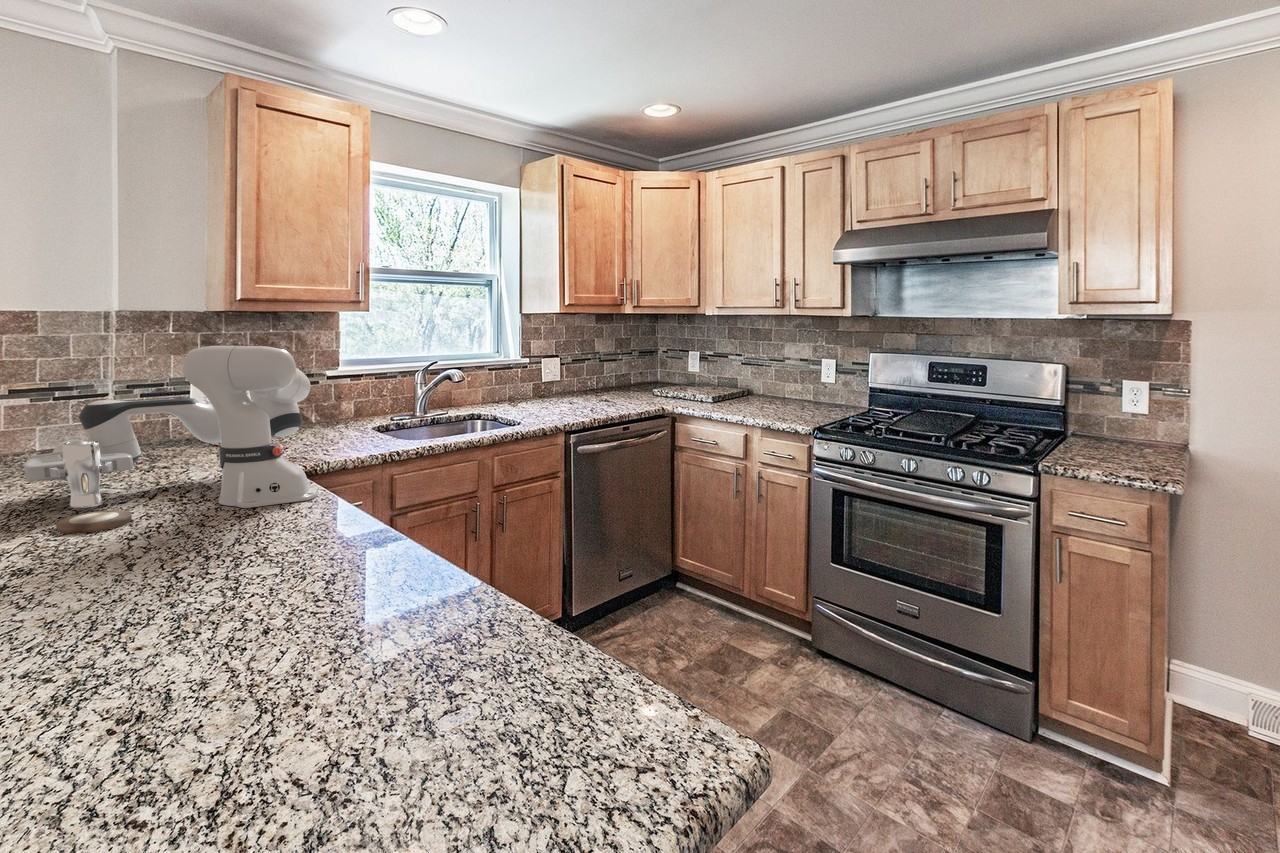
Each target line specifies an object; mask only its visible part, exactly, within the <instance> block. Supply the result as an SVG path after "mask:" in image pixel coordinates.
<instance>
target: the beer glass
mask: <svg viewBox="0 0 1280 853" xmlns="http://www.w3.org/2000/svg"><path fill="white" fill-rule="evenodd" d="M62 445H63V466H64V470H65V474H66V477H67V480H66V481H67V482H68V485H69V490H70V500H69V508H71V509H84V508H85V509H86V508H94V507H98V506H101V505H103V502H104V500H103V499H102V495H101V492H100V484H101V482H100V480H101V474H102V473H101V453H100V448H99V442H98V441H89V440H82V441H74V442H67V443H63V444H62Z"/></svg>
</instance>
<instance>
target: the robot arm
mask: <svg viewBox="0 0 1280 853" xmlns="http://www.w3.org/2000/svg"><path fill="white" fill-rule="evenodd" d="M182 371H183V372H182V373H183V374H184V376H185V378H186V380H187V381H188V383H189V384H190V385H191V386H193V387H195V388H196V389H198V390H199V391H200V392H201V393H202V394H203V395H204V396H205V397H206V398H207V399H208V401H209V403H210V404H208V403H202V402H199V401H198V400H197V399H196V398H193V397H161V398H148V399H147V398H146V399H145V398H144V399H143V398H142V399H130V400H129V399H127V400H116V399H115V400H114V399H104V400H103V399H102V400H96V401H92V402H90V403H87V404H85V405H84V407H83V408H82V410H81V411H80V412H79V415H78V419H79V422H80V423H81V425H82V427H83V430H85V434H86V436H87V438H88V439H87V440H88V441H98V442H99V448H100V453H101V474H102V475H103V474H109V473H110V474H111V473H114V472H115V473H116V472H123V471H130V470H133V469H134V464H135V463H136V462H137V461H138V460H139V458H141V455H142V451H141V448H140V445H139V442H138V438H137V437H136V434H135V431H134V428H133V425H132V422H131V417H132V416H143V415H153V414H155V415H156V414H169V415H172V416H174V417H176V418H177V420H179V421H180V422H181V423H182V425H183V426H184V427H185V428H186V429H187V430H188V431H189V432H190V433H191V435H193V436H194V437H195V438H196V439H198V440H200V441H202V442H205V443H207V444H215V443H216V444H218V443H220V444H221V445H220V447H219V450H218V456H219V465H220V468H221V485H220V493H219V498H218V500H217V503H218V504H220V505H222V506H230V507H238V508H241V509H248V508H250V509H251V508H256V507H257V508H258V507H265V506H272V505H279V504H287V503H289V504H290V503H296V502H303V501H305V502H306V501H309V500H310V501H311V500H312V499H314V498H315V497H317V496H318V494H319V492H318V490H319V489H318V488H317V487H316V486H315V485H311V484H309V481H308V478H307V474H306V473H305V471H304V470H303V468H301V467H300V466H298V465H296V464H294V463H293V462H291V461H289V460H288V459H286V458H285V457H282V451H283V449H282V447H281V445H280V444H279V443H278V444H276V443H274V442H272V437H273V438H284V437H288V436H291V435H293V434H295V433H297V432H298V431H300V429H301V428H302V427H303V424H304V421H303V415H302V414H301V412H300V409H299V405H298V403H299V402H302V401H304V400H305V399H307V397H308V396H309V394H310V391H311V389H312V388H311V387H312V386H311V382H310V379H309V377H308V376H307V375H306V374H305V373H304V372H303V371H301V370H300V369H298V368H297V365H296V360H295V359H294V357H293V356H292V354H291V353H290V352H289V351H287V350H286V349H282V348H278V347H272V346H267V345H266V346H265V345H264V346H263V345H208V346H201V347H198V348H197V347H196V348H193V349H190V351H189V352H187V354H186V355H185V357H184V360H183V362H182ZM247 391H248V392H249V395H250V398H251V399H250V398H249V396H248V394H247ZM74 441H83V440H81V439H73V438H72V439H67V440H64V441H62V442H60V443H59V444H57V445H56V446H55V447H54V449H53V450H49V451H44V452H43V451H42V452H39V453H33V454H30V458H29V459H28V460H26V462H25V463H24V465H23V471H24V478H25V481H26V482H28V483H29V482H40V481H41V482H44V481H45V482H46V481H68V480H67V477H66V474H65V470H64V466H63V445H62V444H63V443H67V442H74Z"/></svg>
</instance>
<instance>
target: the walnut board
mask: <svg viewBox="0 0 1280 853" xmlns="http://www.w3.org/2000/svg"><path fill="white" fill-rule="evenodd" d="M131 520H132V512H130V511H127V510H124V509H123V510H121V509H118V510H117V509H116V510H115V509H111V510H99V511H92V512H85V513H80V514H75V515H71V516H67V517H64V518H61V519H59V520H58V521H56V523H55V528H56V532H57V531H58V532H57V533H59V532H60V534H64V533H71V534H70V535H73V534H72V533H75V534H74V535H77V534H76V533H82V534H88V533H87V532H92V533H97V532H96V531H99V532H102V531H101V530H104V531H108V530H107V529H109V530H112V529H111V528H113V529H117V528H119V526H121V527H123V526H125V525H124V524H126V525H128V524H130V523H131V522H132V521H133V520H132V521H131ZM130 521H131V522H130ZM129 522H130V523H129ZM127 523H128V524H127ZM122 525H123V526H122ZM116 527H117V528H116Z"/></svg>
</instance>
